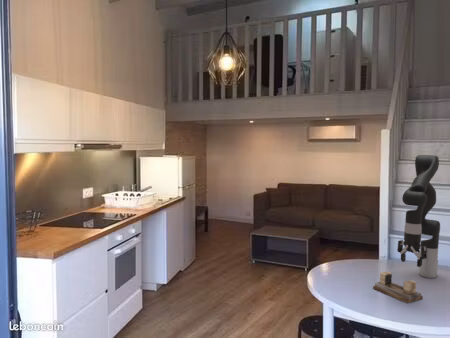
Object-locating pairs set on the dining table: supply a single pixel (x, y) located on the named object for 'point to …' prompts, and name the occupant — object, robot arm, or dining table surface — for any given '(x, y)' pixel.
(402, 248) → the robot arm
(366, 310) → the dining table surface
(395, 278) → the dining table surface
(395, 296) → the rail base
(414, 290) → the maple finger
